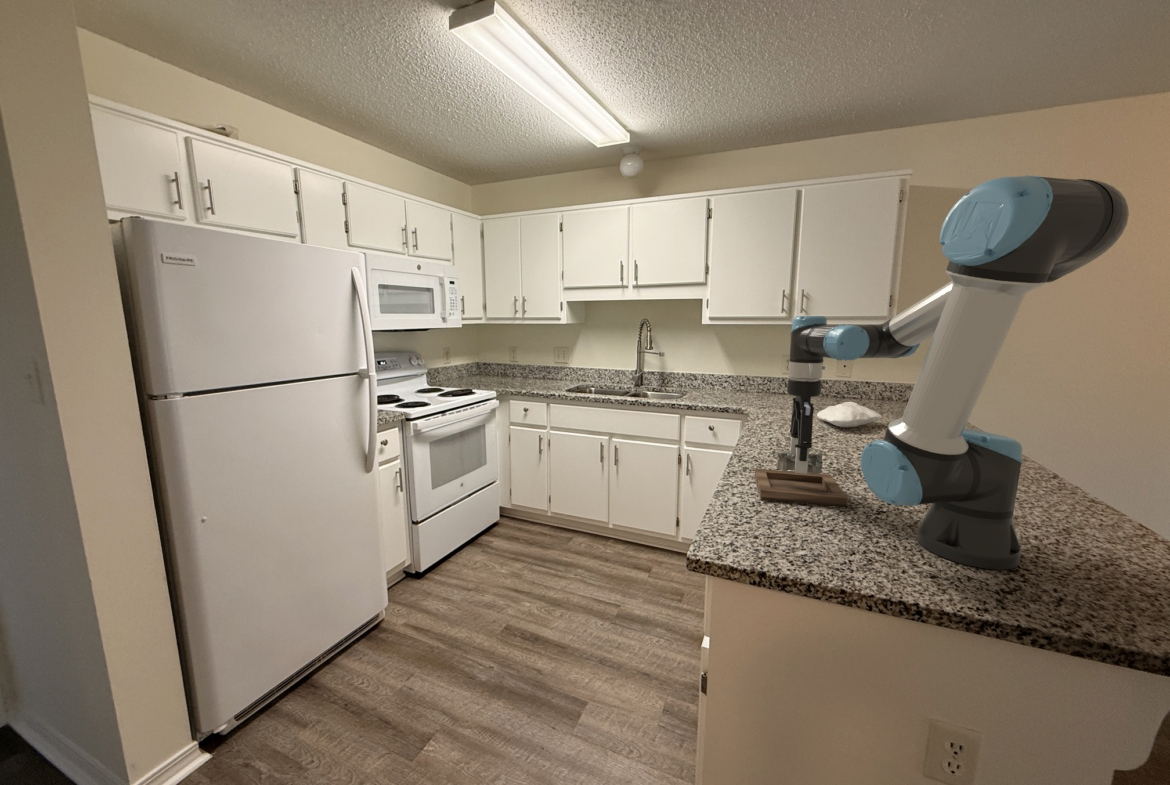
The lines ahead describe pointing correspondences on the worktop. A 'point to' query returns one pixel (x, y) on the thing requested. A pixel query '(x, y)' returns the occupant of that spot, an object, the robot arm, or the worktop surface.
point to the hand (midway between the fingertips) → (797, 467)
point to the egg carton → (788, 460)
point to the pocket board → (799, 488)
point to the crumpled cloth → (848, 415)
